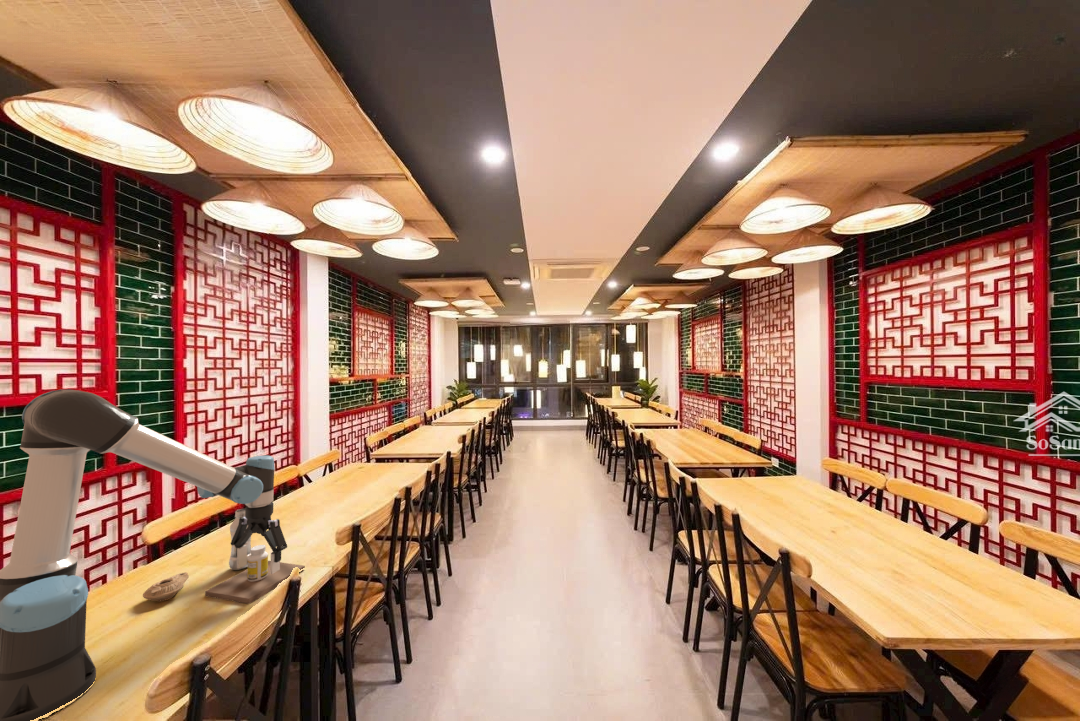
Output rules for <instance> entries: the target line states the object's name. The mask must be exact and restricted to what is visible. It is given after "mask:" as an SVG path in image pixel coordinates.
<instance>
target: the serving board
mask: <svg viewBox="0 0 1080 721" xmlns="http://www.w3.org/2000/svg"><path fill="white" fill-rule="evenodd" d="M305 566H306V565H302V564H296V563H287V562H281V561H280V570H278V571H276V572H275V573H273V574H270V568H271V560H268V575H267V576H266V577H265V578H263V579H261V580H258V581H254V582H250V581H248V579H247V574H248V568H246V570H244V571H242V572H239V573H238V574H236V575H234V576H232V577H230V578H228V579H226V580H225V581H222V582H220V583H218V584H217V585H215V586H212V587H211V588H208V589H207V590H205V591H204V596H205V597H207V598H212V599H213V598H214V599H218V600H219V599H220V600H225V601H230V602H236V603H242V604H249V605H250V604H252V603H253V602H255V601H256V600H258V599H259V598H261V597H263V596H264V595H266V594H268V593H269V592H271V591H273V590H274V589H276V588H277V587H276V586H277V585H278V584H279V583H281V582H282V581H283V580H285V579H287V578H288V577H289V576H290V574H291V572H292V570H293V568H295V567H298V568H299V569H300V570H301V569H303V568H305ZM275 587H276V588H275Z"/></svg>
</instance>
